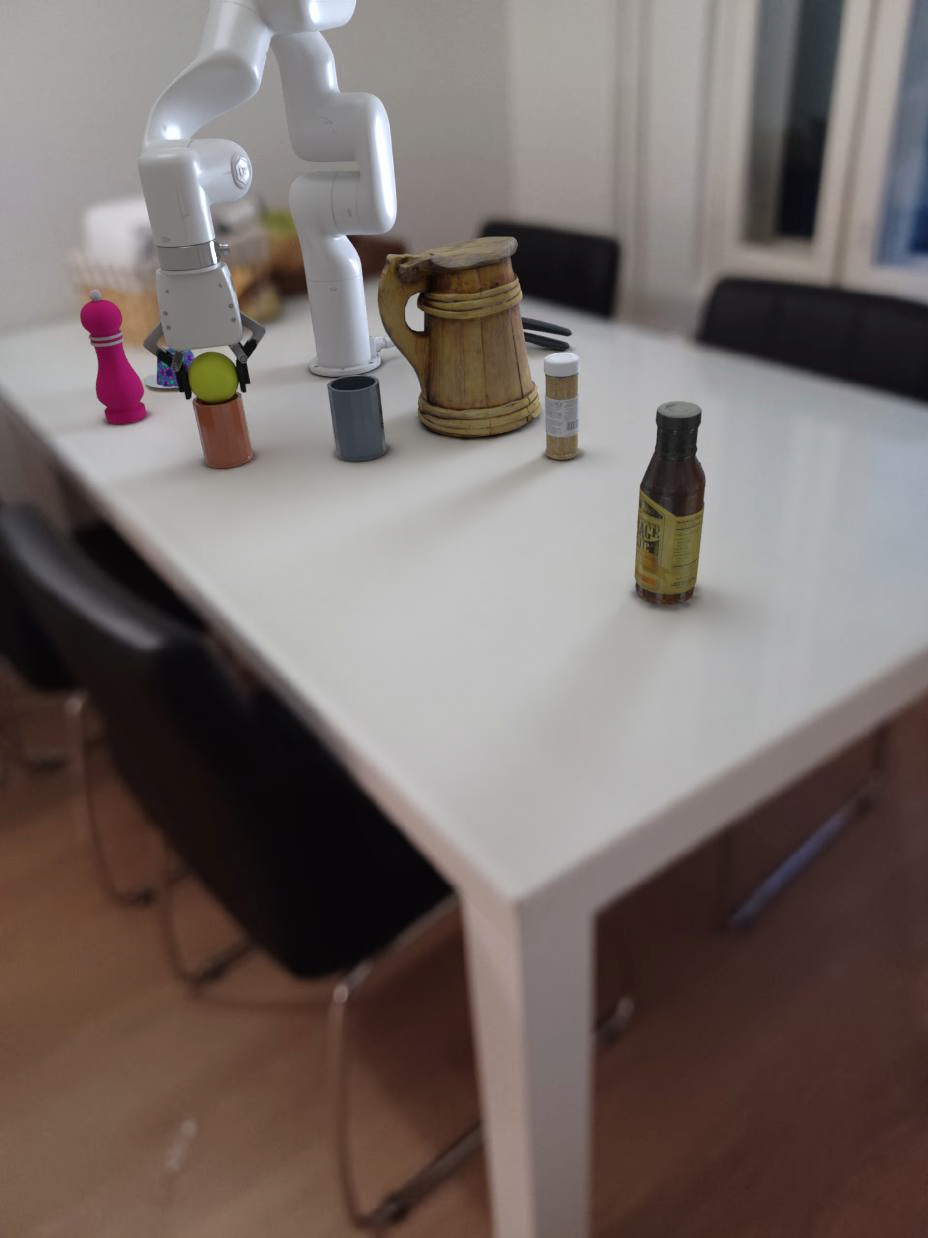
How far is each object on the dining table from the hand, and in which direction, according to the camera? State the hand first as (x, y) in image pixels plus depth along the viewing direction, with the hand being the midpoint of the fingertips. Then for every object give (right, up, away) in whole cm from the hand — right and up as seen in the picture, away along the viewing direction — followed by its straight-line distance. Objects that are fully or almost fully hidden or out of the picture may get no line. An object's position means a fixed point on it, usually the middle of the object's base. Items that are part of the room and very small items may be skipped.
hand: (216, 391), depth 130 cm
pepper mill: (-20, +1, +23) cm, 30 cm away
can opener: (+45, +19, +43) cm, 66 cm away
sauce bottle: (+54, -29, -33) cm, 70 cm away
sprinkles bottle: (+47, -9, -1) cm, 48 cm away
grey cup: (+19, -7, +4) cm, 21 cm away
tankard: (+34, -1, +13) cm, 36 cm away
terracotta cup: (+1, -8, +5) cm, 10 cm away
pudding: (-16, +11, +38) cm, 43 cm away
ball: (0, +2, -1) cm, 2 cm away
